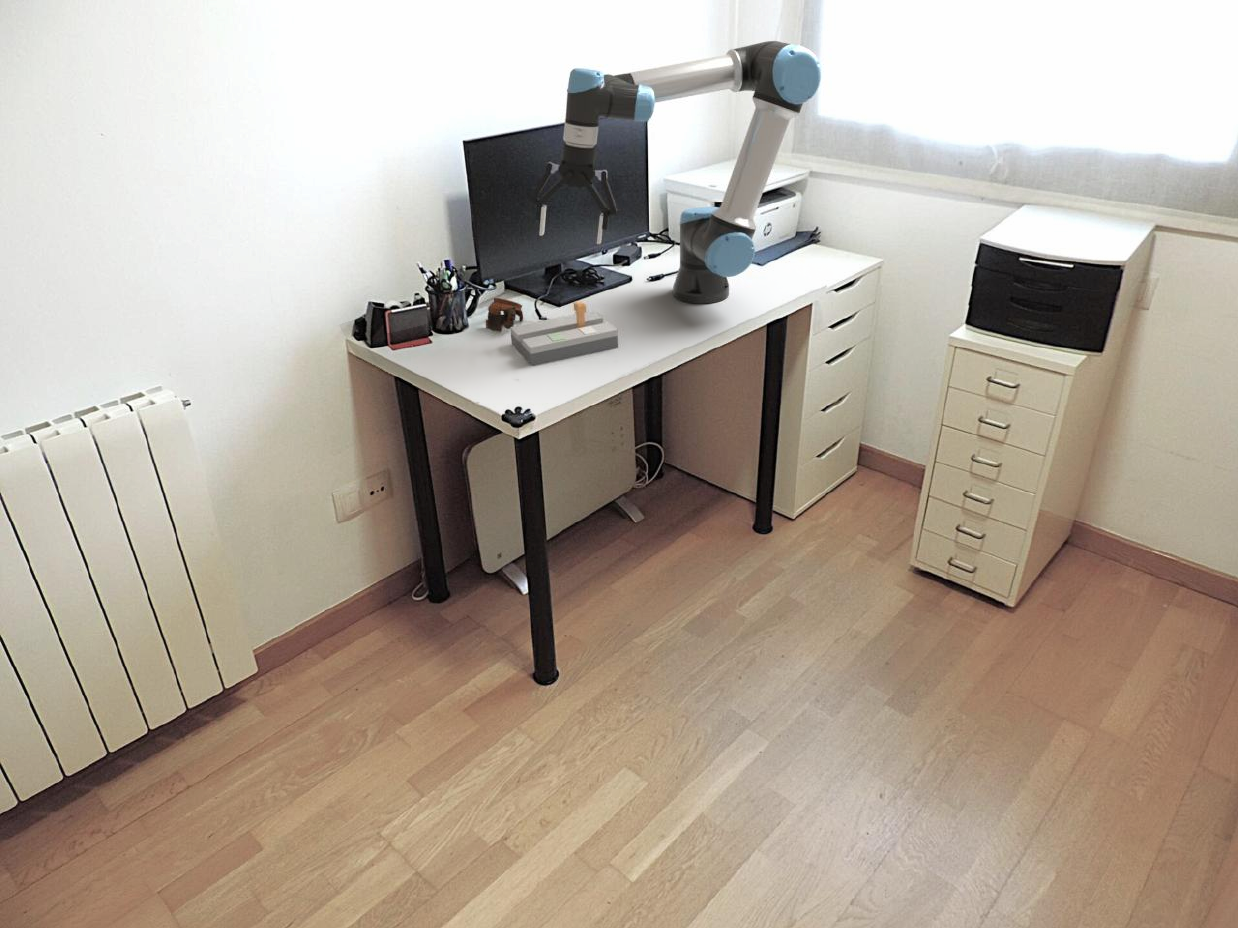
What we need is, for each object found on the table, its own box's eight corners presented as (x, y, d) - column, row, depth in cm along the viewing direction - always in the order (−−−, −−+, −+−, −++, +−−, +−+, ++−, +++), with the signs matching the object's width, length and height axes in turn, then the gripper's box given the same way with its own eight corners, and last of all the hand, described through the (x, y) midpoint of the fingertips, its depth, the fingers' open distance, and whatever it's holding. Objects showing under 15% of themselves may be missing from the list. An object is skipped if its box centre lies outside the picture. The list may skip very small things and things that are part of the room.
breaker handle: (582, 326, 216) (581, 300, 213) (587, 330, 214) (586, 304, 211) (574, 328, 216) (573, 302, 212) (579, 332, 213) (578, 306, 210)
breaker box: (594, 327, 224) (593, 309, 222) (618, 347, 213) (617, 328, 211) (511, 344, 217) (510, 326, 214) (531, 365, 206) (530, 347, 203)
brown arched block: (477, 327, 228) (485, 295, 228) (510, 336, 233) (518, 305, 232) (495, 330, 218) (503, 297, 217) (529, 339, 223) (537, 307, 222)
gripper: (521, 138, 196) (514, 234, 206) (633, 155, 196) (621, 250, 206) (527, 134, 203) (520, 227, 213) (635, 149, 203) (624, 242, 213)
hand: (570, 238), depth 209 cm, fingers open, 13 cm apart
